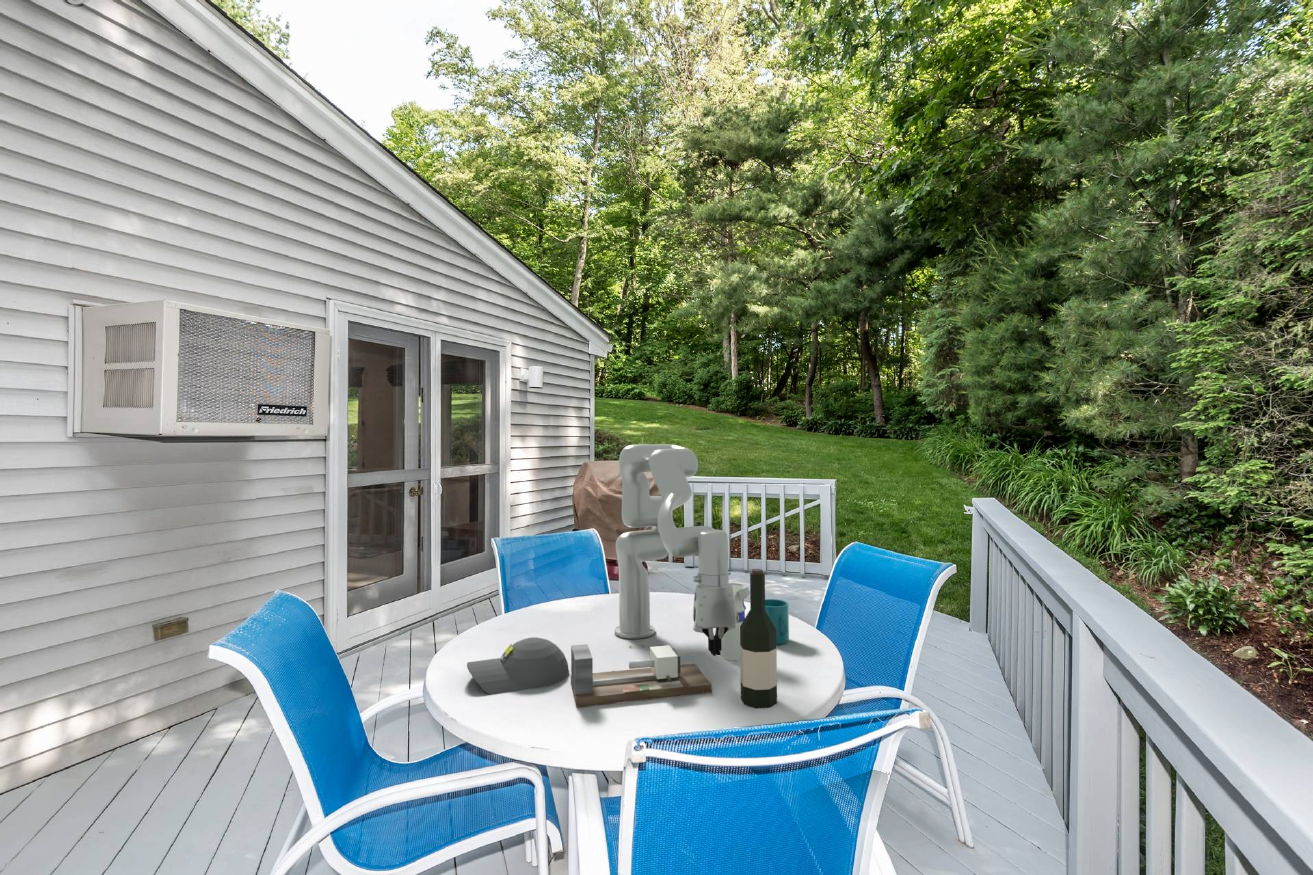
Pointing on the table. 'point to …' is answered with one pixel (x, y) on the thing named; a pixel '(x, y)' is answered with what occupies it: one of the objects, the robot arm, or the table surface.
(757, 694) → the wine bottle
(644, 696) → the base
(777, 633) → the cup
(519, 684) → the baseball cap
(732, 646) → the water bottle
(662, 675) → the white block grey face
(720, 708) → the table surface
